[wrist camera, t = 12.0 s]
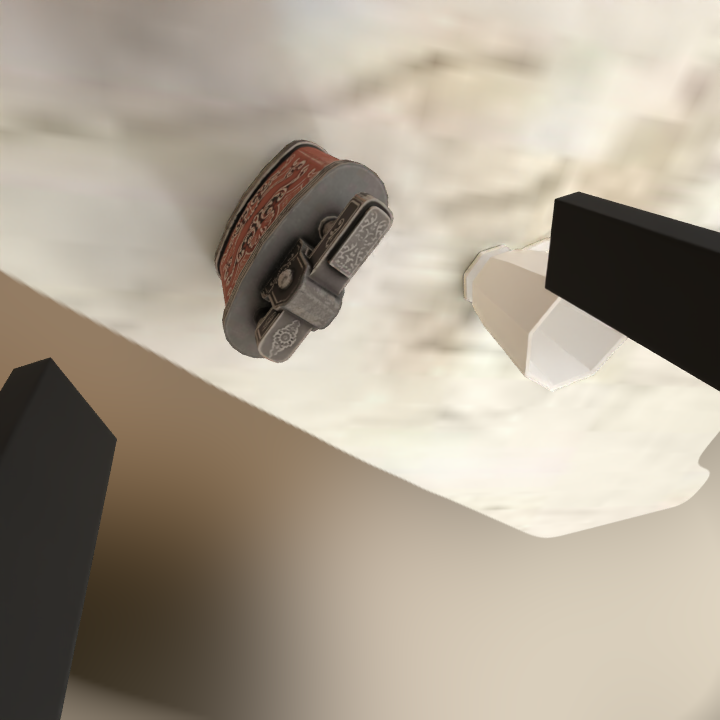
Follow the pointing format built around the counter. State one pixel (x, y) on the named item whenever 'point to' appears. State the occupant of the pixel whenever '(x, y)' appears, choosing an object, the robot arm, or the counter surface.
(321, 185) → the lighter
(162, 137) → the counter surface
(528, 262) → the cup
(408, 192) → the counter surface
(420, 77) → the counter surface
